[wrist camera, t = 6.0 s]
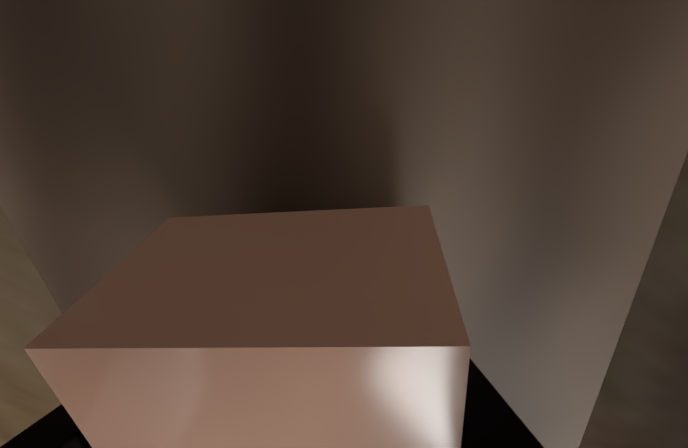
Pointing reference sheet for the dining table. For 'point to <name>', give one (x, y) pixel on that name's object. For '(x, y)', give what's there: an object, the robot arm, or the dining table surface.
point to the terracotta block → (268, 336)
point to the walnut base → (367, 148)
